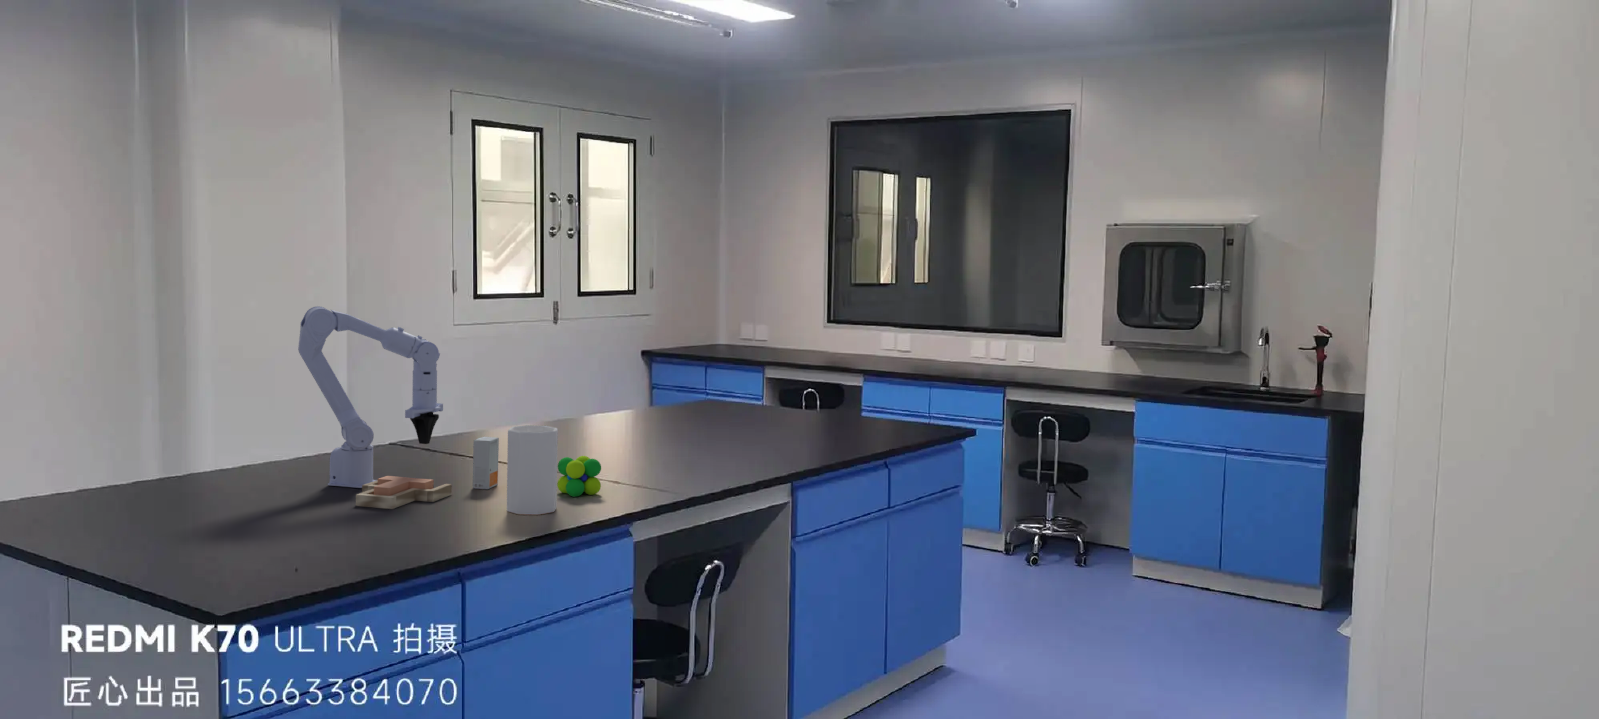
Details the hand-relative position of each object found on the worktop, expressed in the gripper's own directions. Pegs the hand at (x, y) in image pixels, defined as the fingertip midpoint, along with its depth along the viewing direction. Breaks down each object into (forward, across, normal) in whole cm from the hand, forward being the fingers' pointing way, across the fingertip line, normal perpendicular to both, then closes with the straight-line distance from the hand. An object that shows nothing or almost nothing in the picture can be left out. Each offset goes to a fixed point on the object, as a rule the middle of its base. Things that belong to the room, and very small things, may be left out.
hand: (424, 443), depth 283 cm
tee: (+9, -21, -5) cm, 23 cm away
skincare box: (+10, -1, -17) cm, 20 cm away
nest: (+9, -21, -5) cm, 23 cm away
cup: (+10, -20, -38) cm, 44 cm away
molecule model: (+10, 0, -41) cm, 42 cm away
